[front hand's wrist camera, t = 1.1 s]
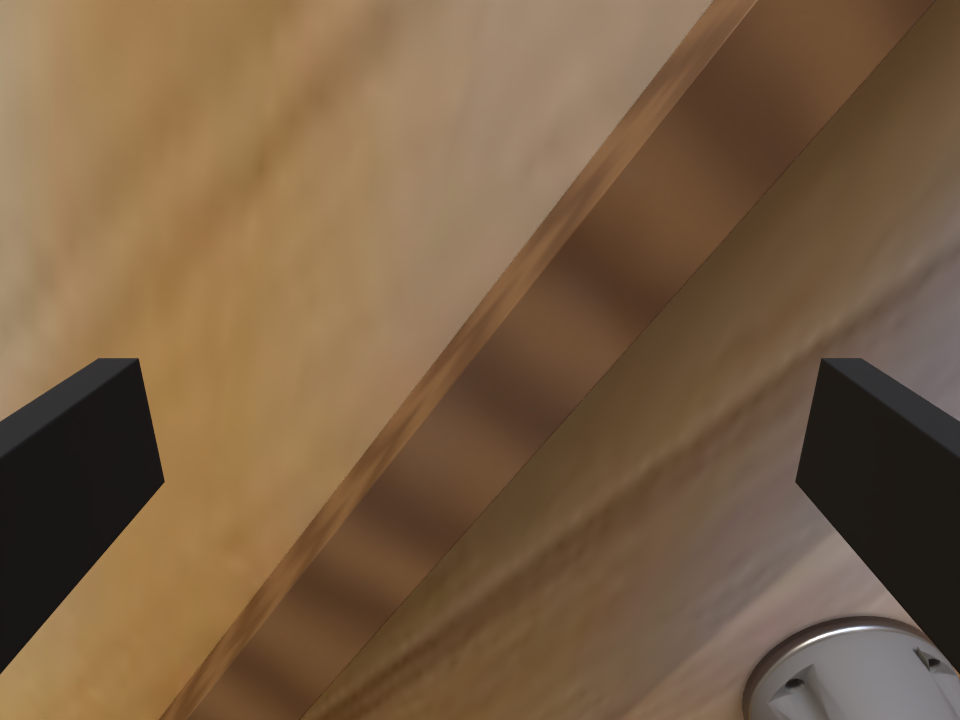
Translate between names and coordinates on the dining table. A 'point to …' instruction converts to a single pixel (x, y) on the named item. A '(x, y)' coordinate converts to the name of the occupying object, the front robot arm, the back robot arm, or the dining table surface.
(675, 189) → the beam
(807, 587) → the dining table surface
